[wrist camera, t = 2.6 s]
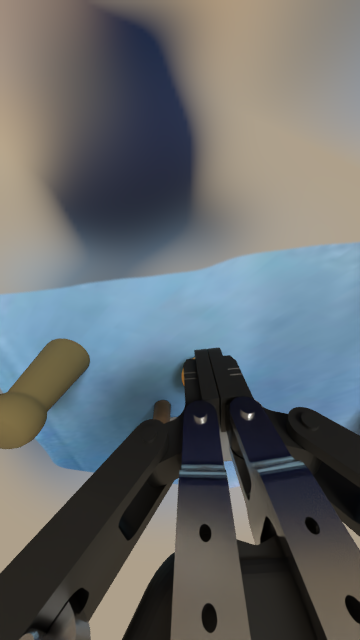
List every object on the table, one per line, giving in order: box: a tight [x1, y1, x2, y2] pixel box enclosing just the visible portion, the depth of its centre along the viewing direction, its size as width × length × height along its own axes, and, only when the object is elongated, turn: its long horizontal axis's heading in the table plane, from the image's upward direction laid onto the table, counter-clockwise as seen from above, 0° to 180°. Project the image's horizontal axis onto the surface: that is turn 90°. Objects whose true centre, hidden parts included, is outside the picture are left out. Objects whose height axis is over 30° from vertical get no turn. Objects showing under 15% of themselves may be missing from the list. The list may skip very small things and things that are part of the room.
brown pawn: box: [0, 339, 90, 449], centre depth 20 cm, size 6×6×11 cm
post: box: [153, 400, 171, 424], centre depth 25 cm, size 3×3×9 cm
